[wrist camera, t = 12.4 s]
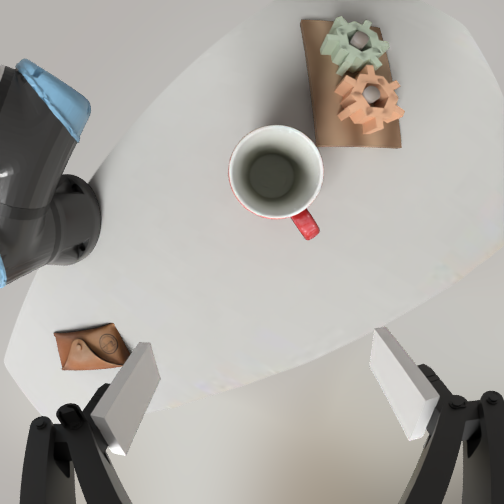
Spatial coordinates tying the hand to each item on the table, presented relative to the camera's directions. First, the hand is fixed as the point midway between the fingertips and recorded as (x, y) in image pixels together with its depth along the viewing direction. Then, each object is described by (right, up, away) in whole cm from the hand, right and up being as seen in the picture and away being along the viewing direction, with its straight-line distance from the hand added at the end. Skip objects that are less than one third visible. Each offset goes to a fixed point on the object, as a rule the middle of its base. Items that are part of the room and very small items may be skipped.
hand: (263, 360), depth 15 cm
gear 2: (+15, +27, +19) cm, 37 cm away
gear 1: (+14, +35, +17) cm, 42 cm away
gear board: (+14, +32, +20) cm, 40 cm away
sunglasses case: (-32, -12, +32) cm, 46 cm away
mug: (+3, +15, +24) cm, 29 cm away
